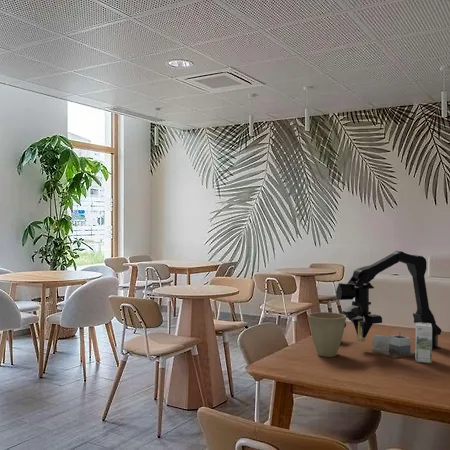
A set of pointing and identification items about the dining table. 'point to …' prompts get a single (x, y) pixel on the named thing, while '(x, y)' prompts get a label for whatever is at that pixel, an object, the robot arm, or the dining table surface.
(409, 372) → the dining table surface
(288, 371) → the dining table surface
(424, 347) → the syrup box
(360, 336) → the hinge pin
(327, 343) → the plant pot
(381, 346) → the hinge
